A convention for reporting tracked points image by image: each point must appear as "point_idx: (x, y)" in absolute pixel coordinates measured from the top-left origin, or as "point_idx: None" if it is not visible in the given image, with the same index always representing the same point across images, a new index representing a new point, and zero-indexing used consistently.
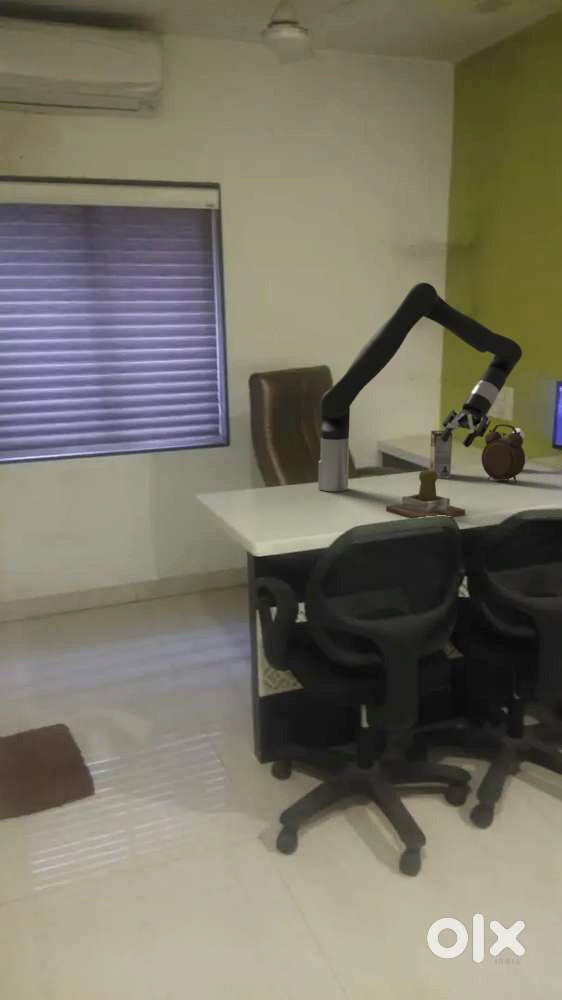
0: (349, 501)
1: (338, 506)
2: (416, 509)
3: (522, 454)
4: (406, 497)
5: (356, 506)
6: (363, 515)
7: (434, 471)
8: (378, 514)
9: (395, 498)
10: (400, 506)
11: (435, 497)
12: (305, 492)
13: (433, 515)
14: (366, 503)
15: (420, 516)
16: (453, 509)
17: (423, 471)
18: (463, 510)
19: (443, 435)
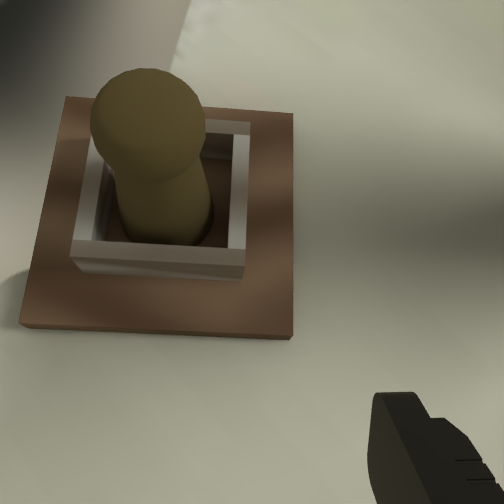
0: (493, 130)
1: (440, 56)
2: None
3: None
4: (228, 125)
5: (409, 98)
6: (286, 34)
7: (113, 127)
8: (267, 76)
9: (457, 312)
10: (254, 148)
11: (117, 197)
12: None
13: (58, 138)
14: (433, 154)
15: (91, 99)
16: (62, 279)
17: (160, 77)
18: (22, 310)
19: (415, 424)
